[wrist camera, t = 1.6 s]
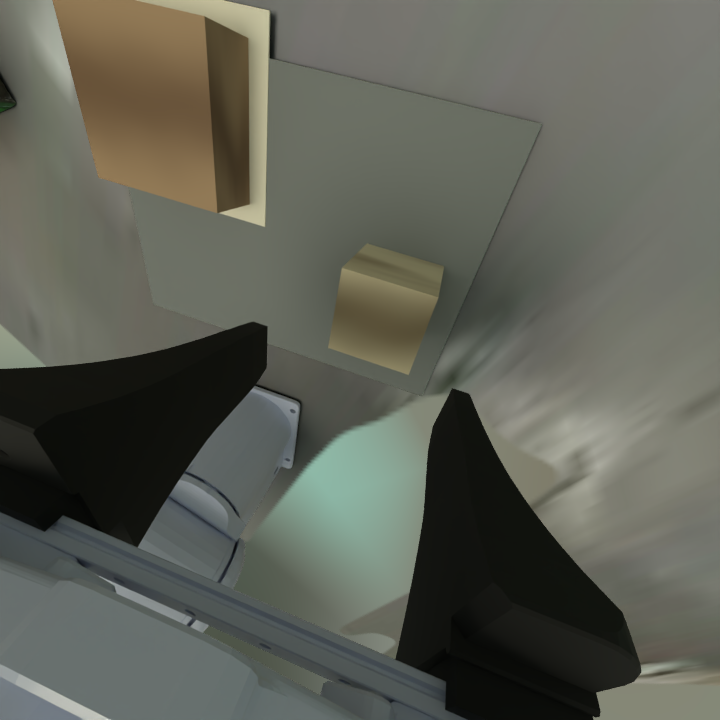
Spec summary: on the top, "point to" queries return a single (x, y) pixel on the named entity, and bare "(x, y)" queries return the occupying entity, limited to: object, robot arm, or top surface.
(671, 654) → the top surface
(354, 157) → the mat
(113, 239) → the top surface
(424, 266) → the maple cube
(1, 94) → the chalk box
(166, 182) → the brown square wooden block
